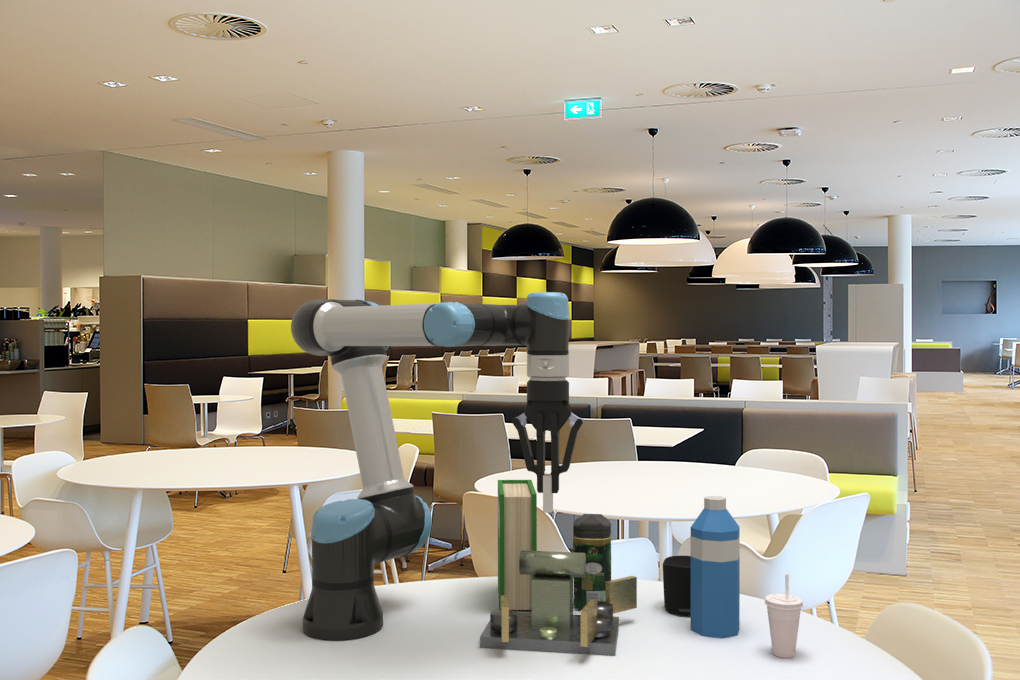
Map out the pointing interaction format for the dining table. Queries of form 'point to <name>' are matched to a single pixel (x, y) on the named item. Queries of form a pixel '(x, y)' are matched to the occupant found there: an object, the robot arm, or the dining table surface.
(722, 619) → the water bottle
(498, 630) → the knob left
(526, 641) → the base
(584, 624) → the knob right
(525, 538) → the hardback book
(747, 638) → the dining table surface
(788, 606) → the smoothie
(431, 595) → the dining table surface
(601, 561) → the coffee jar
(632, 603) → the knob rear
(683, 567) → the black smart speaker
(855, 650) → the dining table surface
